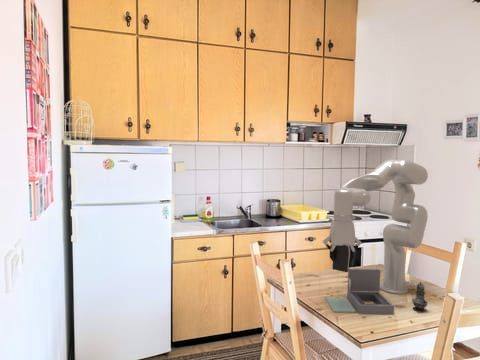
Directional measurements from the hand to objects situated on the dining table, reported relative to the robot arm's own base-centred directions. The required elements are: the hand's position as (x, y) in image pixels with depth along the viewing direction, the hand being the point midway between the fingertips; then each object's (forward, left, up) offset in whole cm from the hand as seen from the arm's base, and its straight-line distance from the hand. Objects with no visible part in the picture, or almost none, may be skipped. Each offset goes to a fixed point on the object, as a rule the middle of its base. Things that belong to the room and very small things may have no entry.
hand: (341, 259), depth 150 cm
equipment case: (-13, 0, -20) cm, 23 cm away
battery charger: (0, 0, -5) cm, 5 cm away
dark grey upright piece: (-33, +3, -20) cm, 38 cm away
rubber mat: (0, 0, -20) cm, 20 cm away
